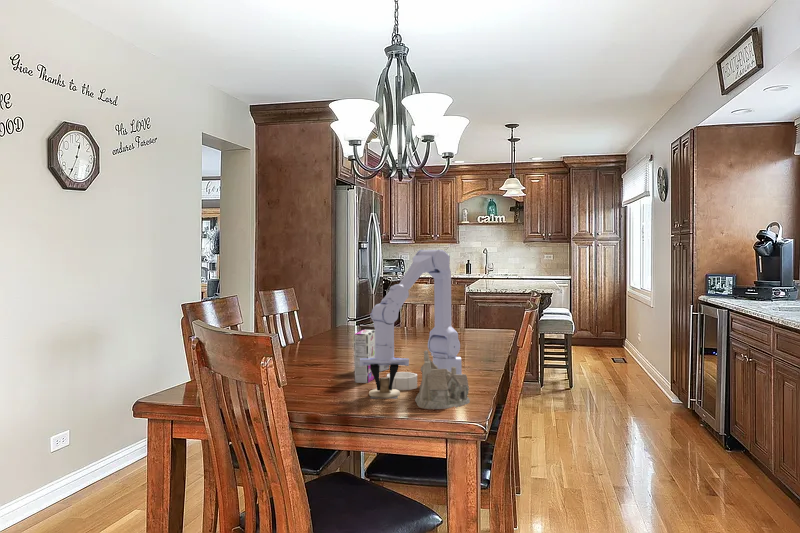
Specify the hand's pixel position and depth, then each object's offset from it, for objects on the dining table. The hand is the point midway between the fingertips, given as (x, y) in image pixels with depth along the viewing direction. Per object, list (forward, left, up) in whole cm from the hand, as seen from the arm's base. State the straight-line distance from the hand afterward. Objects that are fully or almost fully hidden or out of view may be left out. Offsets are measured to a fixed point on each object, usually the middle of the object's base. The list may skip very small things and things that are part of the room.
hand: (384, 389), depth 178 cm
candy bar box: (+7, -22, -2) cm, 23 cm away
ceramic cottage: (-17, +9, -2) cm, 19 cm away
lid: (0, 0, -1) cm, 1 cm away
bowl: (-5, -11, -2) cm, 12 cm away
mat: (0, 0, -2) cm, 2 cm away
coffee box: (+5, -42, -2) cm, 42 cm away
